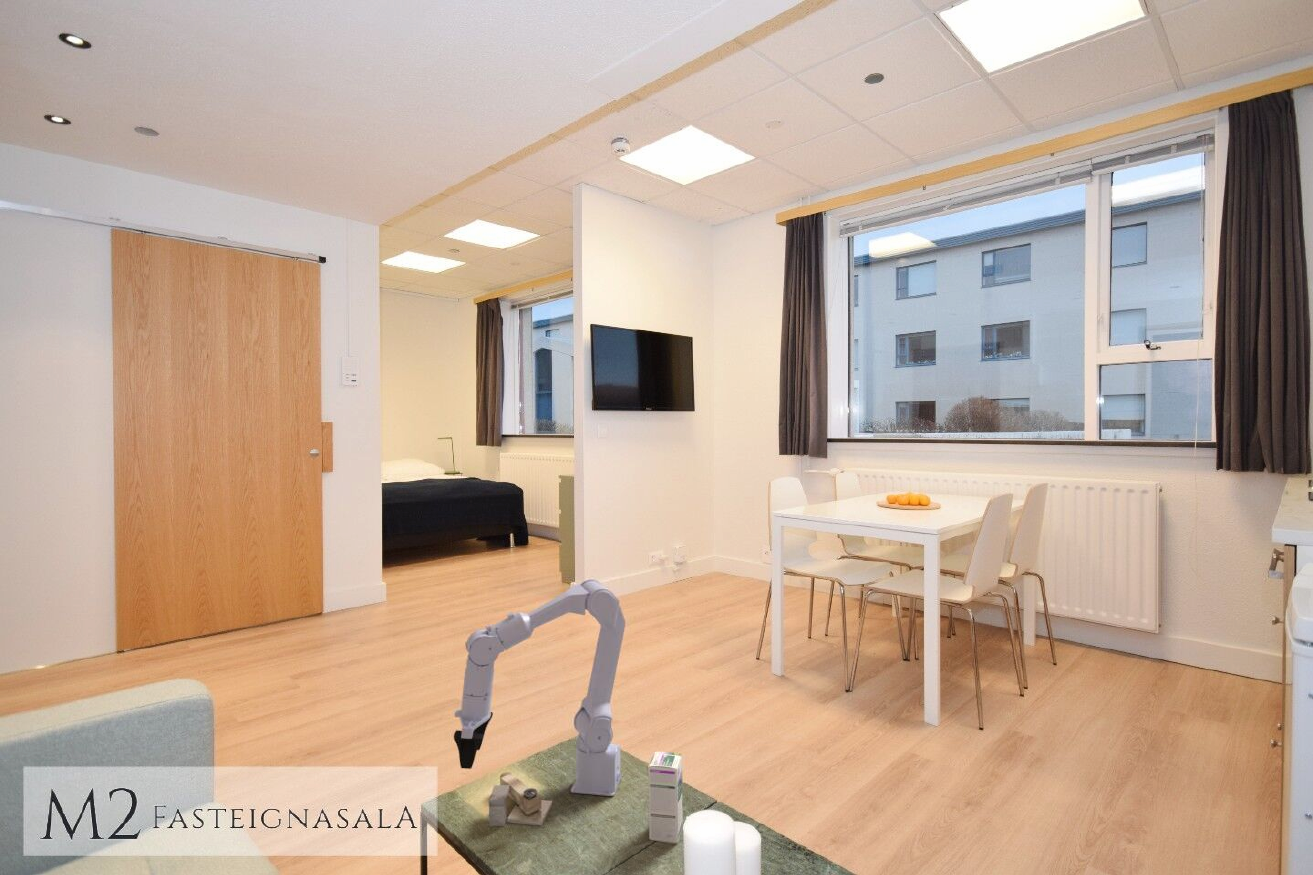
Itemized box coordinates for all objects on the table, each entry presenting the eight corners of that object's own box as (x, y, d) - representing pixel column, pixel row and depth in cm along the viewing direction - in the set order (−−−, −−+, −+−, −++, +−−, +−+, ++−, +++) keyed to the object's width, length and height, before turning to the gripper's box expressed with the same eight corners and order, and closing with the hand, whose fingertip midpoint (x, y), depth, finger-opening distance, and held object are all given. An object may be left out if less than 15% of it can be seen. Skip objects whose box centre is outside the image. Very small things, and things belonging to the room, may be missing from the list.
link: (541, 808, 131) (541, 796, 131) (527, 814, 129) (527, 802, 129) (510, 781, 141) (510, 770, 141) (496, 787, 139) (496, 775, 138)
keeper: (509, 809, 133) (509, 784, 132) (504, 825, 127) (504, 800, 127) (494, 809, 132) (494, 785, 132) (489, 826, 127) (489, 800, 127)
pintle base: (552, 804, 134) (552, 783, 134) (541, 825, 127) (541, 803, 127) (520, 801, 135) (519, 780, 135) (507, 822, 128) (507, 800, 128)
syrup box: (678, 844, 122) (678, 768, 121) (647, 840, 123) (647, 764, 122) (683, 825, 127) (683, 752, 127) (654, 822, 128) (654, 749, 128)
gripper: (465, 676, 139) (459, 740, 138) (448, 704, 124) (441, 775, 124) (499, 679, 139) (492, 742, 139) (485, 706, 125) (478, 777, 124)
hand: (470, 758), depth 131 cm, fingers open, 7 cm apart
